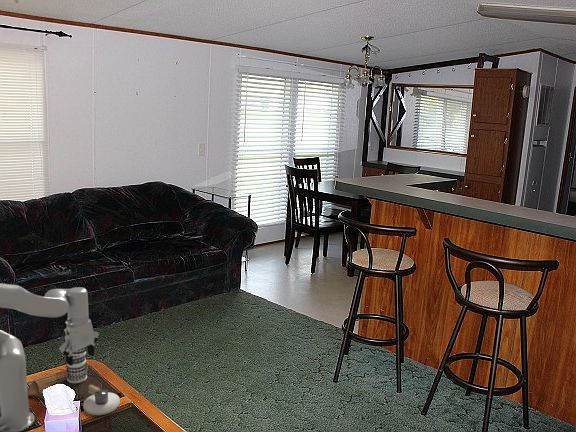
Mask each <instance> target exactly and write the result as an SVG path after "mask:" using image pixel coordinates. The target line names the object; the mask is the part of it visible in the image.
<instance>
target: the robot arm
mask: <svg viewBox="0 0 576 432" xmlns="http://www.w3.org/2000/svg"><path fill="white" fill-rule="evenodd" d="M0 308H2V309H11V310H16V311H18V312H21V313H24V314H27V315H31V316H35V317H45V318H60V317H62V316H65V315H66V314H67V320H65V324H66V327H65V328H66V340H65V342H64V341H63V343H62V344H61V345H60V346H59V348H58V350H59V352H60V353H61V354H63V355H64V356H65V355H66V356H65V363H66V364H69V365H71V366H72V365H73V357H72V356H71V355H72V353H73V351H77V350H80V349H82V348H84V347H86V350H87V354H88V355H90V356H91V357H94V356H95V346H96V343H97V341H98V338H99V334H100V332H98V331H94V328H93V327H94V326H93V324H92V320H91V319H90V318H89V316H90V315H89V314H90V313H89V295H88V290H87V289H86V288H85V287H81V286H78V287H77V286H75V287H71V288H53V289H49V290H47V291H46V293H45V294H44V296H42V295H38V294H34V293H33V292H30V291H28V290H27V289H25V288H24V287H22V286H20V285H18V284H9V283H0ZM65 348H67V349H66V351H65ZM69 350H70V351H69ZM68 352H69V353H68ZM28 388H29V387H28V379H27V361H26V354H25V350H24V347H23V343H22V341H21V340H20V339H18V338H17V337H15V336H14V335H12V334H10V333H7V332H6V331H4V330H1V329H0V415H1V416H0V432H22V431H25V430H27V429H28V428H29V426H30V427H31V426H32V425H33V424H34V423H35V418H36V417H35V415H34V413H33V412H30V403H29V401H30V400H29V397H28ZM33 422H34V423H33ZM26 428H27V429H26ZM24 429H25V430H24Z"/></svg>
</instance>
